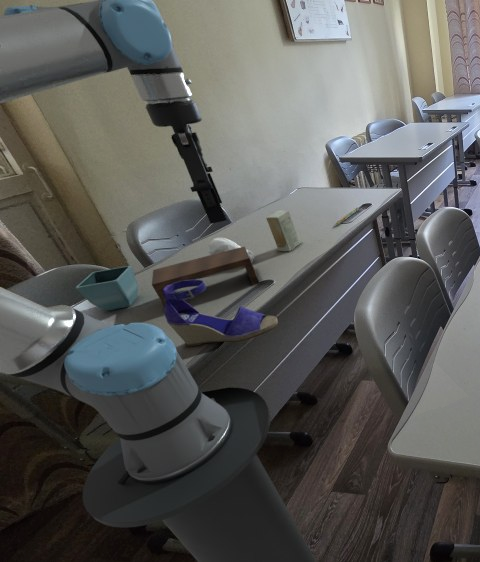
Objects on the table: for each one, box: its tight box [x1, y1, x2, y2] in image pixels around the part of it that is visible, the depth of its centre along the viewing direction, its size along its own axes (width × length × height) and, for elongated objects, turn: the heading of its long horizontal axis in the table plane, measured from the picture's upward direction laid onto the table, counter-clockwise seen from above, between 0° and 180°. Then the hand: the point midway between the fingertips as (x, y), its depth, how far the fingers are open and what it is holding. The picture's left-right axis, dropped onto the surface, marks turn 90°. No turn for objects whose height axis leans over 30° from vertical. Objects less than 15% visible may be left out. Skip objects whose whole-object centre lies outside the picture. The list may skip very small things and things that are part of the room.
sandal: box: [163, 279, 279, 347], centre depth 90 cm, size 8×20×15 cm, turn 102°
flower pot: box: [75, 265, 139, 312], centre depth 105 cm, size 9×9×9 cm
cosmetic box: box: [265, 209, 301, 252], centre depth 131 cm, size 6×4×12 cm
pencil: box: [334, 207, 360, 227], centre depth 155 cm, size 1×1×18 cm
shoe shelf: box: [151, 246, 260, 308], centre depth 111 cm, size 22×10×8 cm, turn 126°
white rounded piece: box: [208, 237, 255, 264], centre depth 124 cm, size 6×8×12 cm
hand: (216, 212), depth 83 cm, fingers open, 13 cm apart
